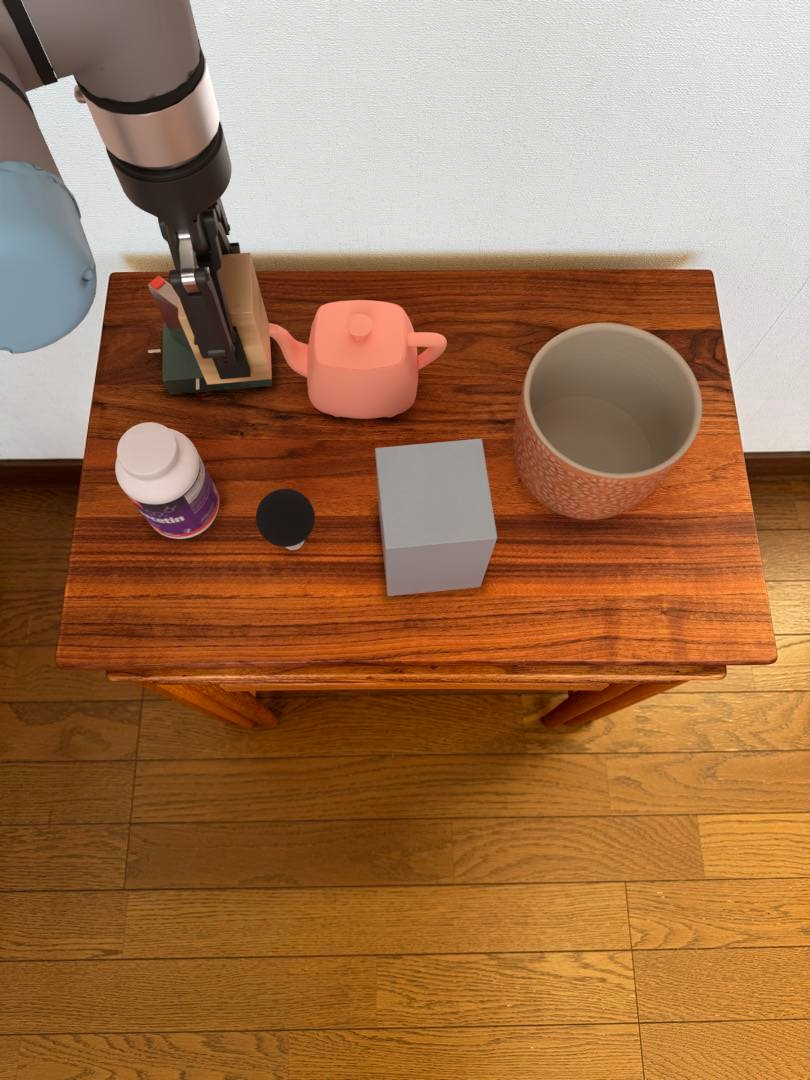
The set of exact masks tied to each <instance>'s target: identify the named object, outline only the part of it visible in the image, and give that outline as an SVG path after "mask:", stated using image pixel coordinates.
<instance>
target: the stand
mask: <svg viewBox="0 0 810 1080" xmlns="http://www.w3.org/2000/svg"><path fill="white" fill-rule="evenodd" d="M374 453H375V454H374V455H375V468H376V469H375V472H376V485H377V486H376V487H377V489H376V490H377V503H378V517H379V525H380V536H381V537H380V538H381V546H382V548H381V549H382V556H383V566H384V577H385V587H386V596H387V597H393V596H395V597H396V596H404V595H415V594H424V593H425V594H427V593H435V592H446V591H456V590H467V589H475V588H476V589H477V588H481V587H482V583H483V581H484V577H485V575H486V572H487V570H488V566H489V563H490V560H491V557H492V555H493V551H494V548H495V547H496V546H495V545H496V543H497V540H498V532H497V526H496V520H495V514H494V507H493V501H492V495H491V488H490V487H491V486H490V482H489V475H488V467H487V461H486V455H485V449H484V443H483V439H482V438H473V439H472V438H471V439H460V440H451V441H449V440H448V441H442V442H441V441H438V442H429V443H416V444H407V445H406V444H405V445H394V446H382V447H375V448H374Z"/></svg>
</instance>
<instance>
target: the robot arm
mask: <svg viewBox="0 0 810 1080" xmlns="http://www.w3.org/2000/svg"><path fill="white" fill-rule="evenodd" d="M206 59H207V58H206V57H205V54H204V51H203V49H202V46H201V42H200V39H199V34H198V30H197V26H196V22H195V17H194V14H193V9H192V6H191V1H190V0H0V351H6V352H9V353H10V354H13V355H15V354H16V355H17V354H18V355H19V354H25V353H29V352H34V351H38V350H41V349H43V348H46V347H48V346H51V345H53V344H55V343H57V342H59V341H60V340H61V339H63V338H64V337H66V336H68V335H69V334H71V333H72V332H73V331H74V330H75V329H77V327H79V325H80V324H81V323H83V321H84V320H85V318H86V317H87V315H88V314H89V312H90V311H91V308H92V306H93V304H94V301H95V298H96V295H97V286H98V285H97V283H98V278H97V277H98V276H97V266H96V265H97V264H96V261H95V258H94V255H93V252H92V250H91V246H90V244H89V241H88V238H87V235H86V233H85V230H84V227H83V225H82V224H83V223H82V222H81V219H82V215H81V210H80V207H79V205H78V202H77V200H76V198H75V195H74V194H73V193H72V192H71V191H70V189H69V187H68V186H67V185H66V184H65V182H64V179H63V177H62V175H61V173H60V171H59V168H58V166H57V163H56V162H55V159H54V157H53V155H52V152H51V150H50V148H49V146H48V144H47V140H46V139H45V137H44V135H43V133H42V130H41V128H40V126H39V123H38V120H37V117H36V115H35V113H34V109H33V107H32V105H31V102H30V100H29V97H28V95H27V92H30V91H33V90H36V89H39V88H41V87H46V86H49V85H53V84H55V83H58V82H59V80H60V79H64V78H68V77H70V76H73V78H74V80H75V82H76V84H77V85H75V86H74V88H73V91H74V92H73V96H74V98H75V100H76V102H77V103H79V104H82V105H83V104H86V105H87V108H88V110H89V112H90V114H91V117H92V120H93V123H94V125H95V128H96V129H97V131H98V134H99V136H100V138H101V140H102V143H103V145H104V146H105V151H106V154H107V156H108V157H107V158H108V159H109V161H110V163H111V166H112V168H113V171H114V173H115V176H116V177H117V180H118V182H119V184H120V187H121V189H122V191H123V193H124V195H125V197H126V198H127V199H128V200H129V201H130V202H131V203H132V204H133V205H134V206H135V207H136V208H138V209H139V210H142V211H144V212H145V213H147V214H149V215H152V216H154V217H155V218H157V222H158V227H159V230H160V234H161V236H162V239H163V240H164V241H165V242H166V243H167V244H168V249H169V253H170V255H171V260H172V262H173V266H174V269H170V270H169V272H168V281H169V284H170V285H172V287H173V289H174V290H175V292H176V293H177V295H178V297H179V299H180V301H181V304H182V307H183V309H184V312H185V314H186V317H187V320H188V322H189V325H190V327H191V330H192V333H193V335H194V345H197V346H198V348H199V351H200V354H201V356H202V358H203V359H207V358H212V359H213V362H214V364H215V367H216V369H217V372H218V374H219V377H220V379H232V378H243V377H251V371H250V367H249V364H248V361H247V358H246V355H245V352H244V349H243V346H242V342H241V339H240V336H239V333H238V330H237V327H236V326H234V327H233V326H232V322H231V318H230V314H229V309H228V305H227V301H226V297H225V293H224V289H223V285H222V281H221V276H220V272H219V269H220V268H221V266H222V255H226V254H239V253H241V246H240V242H239V241H238V242H237V241H236V242H230V241H229V238H228V236H230V235H231V233H230V231H231V225H230V223H229V221H228V218H227V215H226V211H225V208H224V205H223V201H222V196H223V195H224V193H225V192H226V190H227V189H228V187H229V184H230V182H231V179H232V178H231V177H232V170H233V169H232V160H231V157H230V153H229V148H228V145H227V141H226V137H225V133H224V129H223V126H222V122H221V120H220V111H219V106H218V105H219V104H218V102H217V98H216V94H215V90H214V86H213V82H212V79H211V74H210V71H209V66H208V62H207V60H206Z"/></svg>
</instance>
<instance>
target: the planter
mask: <svg viewBox="0 0 810 1080" xmlns="http://www.w3.org/2000/svg"><path fill="white" fill-rule="evenodd" d="M702 419H703V398H702V392H701V389H700V386H699V383H698V380H697V378H696V376H695V374H694V371H693V370H692V369H691V367H690V365H689V364H688V363H687V361H686V360H685V359H684V358H683V356H681V354H680V353H679V352H678V351H677V350H676V349H675V348H673V346H672V345H670V344H669V343H667V342H666V341H664V340H663V339H662V338H660V337H658V336H656V335H655V334H652V333H650V332H649V331H646V330H643V329H641V328H639V327H635V326H631V325H627V324H623V323H616V322H615V323H614V322H595V323H594V322H593V323H587V324H581V325H579V326H575V327H572V328H570V329H567V330H564V331H563V332H561V333H559V334H558V335H557V334H556V336H554V337H552V338H551V339H550V340H549V341H547V342H546V343H545V344H544V345H543V346H542V347H541V348H540V349H539V350H538V352H537V353H536V354H535V355H534V357H533V358H532V360H531V362H530V364H529V366H528V369H527V371H526V374H525V377H524V380H523V384H522V388H521V391H520V395H519V401H518V405H517V410H516V414H515V420H514V425H513V431H512V454H513V455H512V456H513V462H514V464H515V467H516V471H517V473H518V476H519V478H520V480H521V482H522V484H523V486H525V488H526V489H527V491H528V492H529V493H530V494H531V495H532V496H533V497H534V498H535V499H536V500H537V501H538V502H539V503H540V504H542V505H543V506H544V507H546V508H548V509H549V510H551V511H552V512H555V513H557V514H559V515H561V516H564V517H568V518H572V519H577V520H582V521H583V520H584V521H596V520H604V519H610V518H613V517H616V516H619V515H621V514H623V513H624V514H625V513H626V512H628V511H630V510H631V509H632V508H634V507H636V506H638V505H639V504H640V503H641V502H643V501H644V500H645V499H646V498H648V496H649V495H651V493H653V492H654V491H655V489H657V488H658V486H659V485H660V484H661V483H662V482H663V481H664V480H665V479H666V477H667V476H668V475H669V474H670V472H671V471H672V470H673V469H674V468H675V467H676V466H677V464H678V463H679V462H680V461H681V460H682V458H683V457H684V456H685V455H686V453H687V452H688V451H689V449H690V448H691V447H692V445H693V444H694V442H695V440H696V438H697V436H698V433H699V431H700V428H701V425H702Z"/></svg>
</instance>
